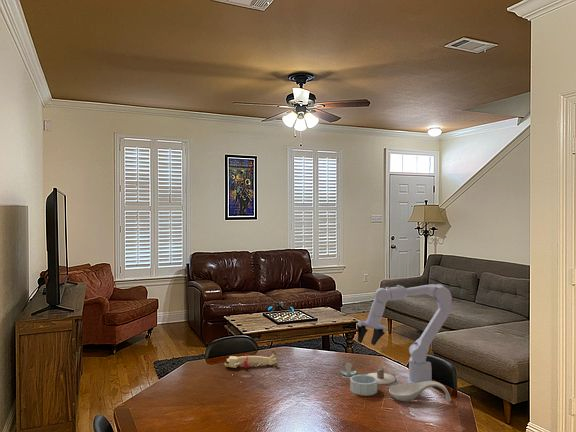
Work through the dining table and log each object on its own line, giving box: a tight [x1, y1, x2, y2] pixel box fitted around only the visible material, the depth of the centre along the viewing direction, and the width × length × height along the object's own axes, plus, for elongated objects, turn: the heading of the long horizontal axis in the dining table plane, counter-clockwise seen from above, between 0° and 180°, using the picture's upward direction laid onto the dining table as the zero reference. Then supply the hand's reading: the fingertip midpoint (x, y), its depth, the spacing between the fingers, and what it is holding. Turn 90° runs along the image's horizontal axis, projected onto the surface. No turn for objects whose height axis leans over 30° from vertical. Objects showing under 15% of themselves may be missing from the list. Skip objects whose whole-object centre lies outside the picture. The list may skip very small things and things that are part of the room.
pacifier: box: [340, 361, 357, 379], centre depth 211 cm, size 7×6×6 cm
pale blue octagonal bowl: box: [349, 374, 378, 396], centre depth 194 cm, size 11×11×5 cm
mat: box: [363, 372, 399, 386], centre depth 207 cm, size 14×14×1 cm
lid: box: [367, 368, 397, 384], centre depth 207 cm, size 13×13×4 cm
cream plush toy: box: [224, 349, 278, 369], centre depth 226 cm, size 10×9×25 cm
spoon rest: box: [388, 380, 452, 403], centre depth 186 cm, size 24×12×7 cm, turn 84°
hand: (366, 343), depth 207 cm, fingers open, 7 cm apart
